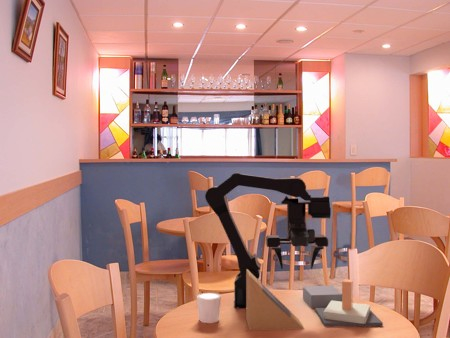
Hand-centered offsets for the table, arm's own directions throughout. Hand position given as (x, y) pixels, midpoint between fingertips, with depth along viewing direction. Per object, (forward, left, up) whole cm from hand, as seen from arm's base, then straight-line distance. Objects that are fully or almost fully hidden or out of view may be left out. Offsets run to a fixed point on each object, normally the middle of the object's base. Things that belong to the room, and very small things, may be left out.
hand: (296, 268), depth 151 cm
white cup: (-27, -11, -12) cm, 32 cm away
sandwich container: (-9, -15, -12) cm, 21 cm away
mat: (+13, -11, -12) cm, 21 cm away
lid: (+13, -11, -11) cm, 20 cm away
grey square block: (+9, +4, -12) cm, 16 cm away
